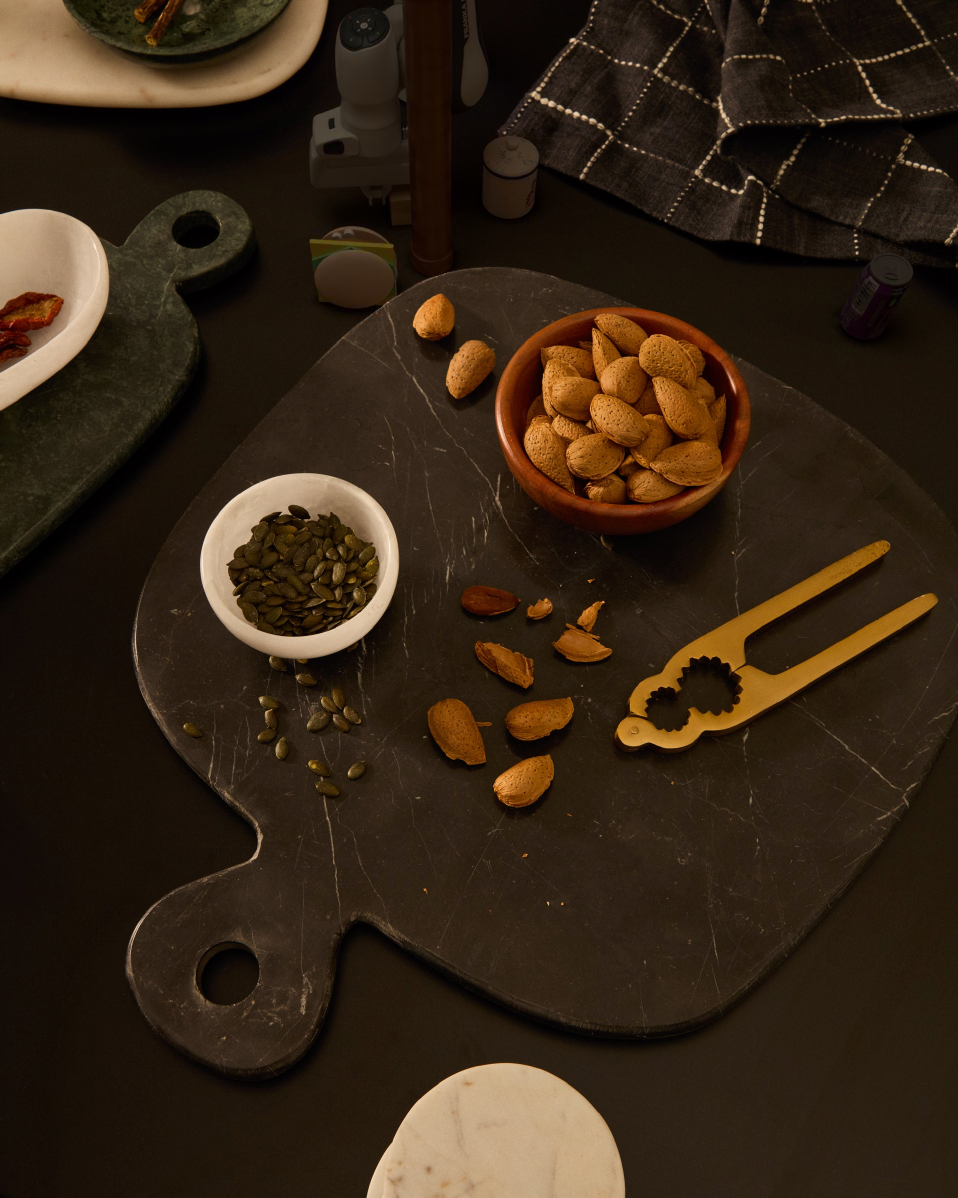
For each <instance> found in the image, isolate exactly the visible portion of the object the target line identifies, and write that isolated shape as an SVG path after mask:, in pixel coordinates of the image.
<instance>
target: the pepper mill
mask: <svg viewBox="0 0 958 1198" xmlns="http://www.w3.org/2000/svg"><path fill="white" fill-rule="evenodd" d="M402 9H403V33H404V57H405V80H406V102H405V104H406V124H407V128H408V151H409V175H410V198H411V222H412V224H411V241H410V242H409V254H410V255H409V256H410V257H409V258H410V265H411V266H412V268H413V269H414V270H415V272H418V274H421V275H424V276H427V277H436V275H437V276H440V275H439V274H441V273H443V274H445V273H447V272H448V271H449V270H450V269H451V268H452V266H453V264H454V243H453V240H452V116H451V107H452V0H402ZM444 272H445V273H444ZM441 275H442V274H441Z"/></svg>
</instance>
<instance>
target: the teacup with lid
mask: <svg viewBox="0 0 958 1198" xmlns="http://www.w3.org/2000/svg"><path fill="white" fill-rule="evenodd" d="M481 160H482V164H483V165H482V166H483V167H482V168H483V169H482V190H481V193H482V194H481V201H482V202H481V203H482V205H483V207H484V208H485V210H486V211H487V212H488V213H489V214H491V215H492V216H494V217H496V218H500V219H505V220H515V219H519V218H521V217H524V216H526V215H527V214H529V212H530V211H531V210H532V209H533V207H534V204H535V196H536V189H537V179H538V178H537V177H538V168H539V167H540V162H541V156H540V154H539V150H538V149H537V147H536V146H535V145H534V143H532V142H531V141H529V139H527V138H524V137H521V136H518V135H517V136H516V135H504V136H503V135H502V136H499V137H497V138H494V139H492V140H491V141H490V142H489V143H488V144H487V145H485V147H484V149H483V151H482V155H481Z"/></svg>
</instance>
